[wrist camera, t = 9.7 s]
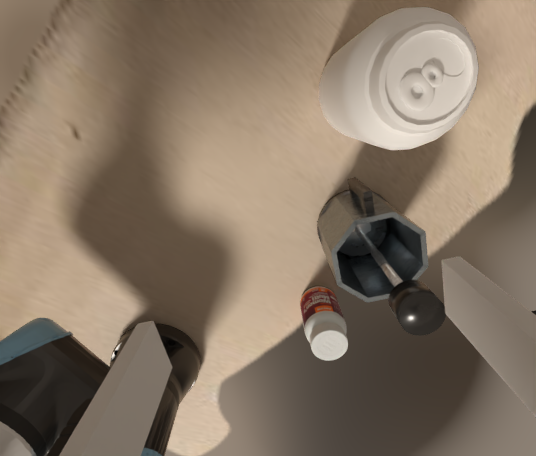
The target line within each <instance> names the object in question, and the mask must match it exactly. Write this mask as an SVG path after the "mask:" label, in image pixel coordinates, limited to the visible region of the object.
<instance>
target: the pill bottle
mask: <svg viewBox="0 0 536 456" xmlns="http://www.w3.org/2000/svg"><path fill="white" fill-rule="evenodd" d="M300 306H301V313H302V319H303V325H304V330H305V334H306V337H307V339H308V341H309V342H310V344H311V349H312V351H313V353H314V355H315V356H317V357H318V358H320V359H323V360H334V359H337V358H339V357H341V356H342V355H343V354H344V353H345V352H346V350H347V348H348V340H347V337H346V332H347V328H346V323H345V320H344V318H343V315H342V312H341V309H340V307H339V304H338V301H337V299H336V296H335V294H334V293H333V292H332V291H331V290H330V289H328V288H326V287H322V286H316V287H312V288H310V289H308V290H307V291H306V292H305V293H304V294H303V295H302V297H301V301H300Z"/></svg>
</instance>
